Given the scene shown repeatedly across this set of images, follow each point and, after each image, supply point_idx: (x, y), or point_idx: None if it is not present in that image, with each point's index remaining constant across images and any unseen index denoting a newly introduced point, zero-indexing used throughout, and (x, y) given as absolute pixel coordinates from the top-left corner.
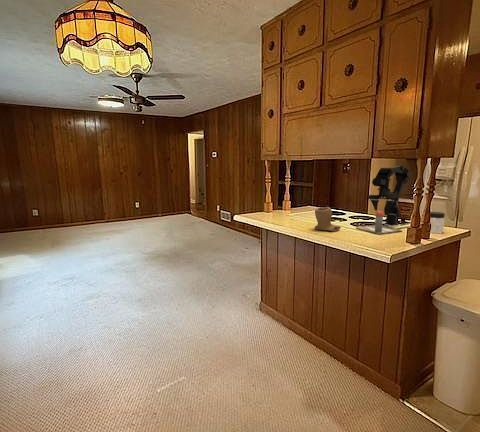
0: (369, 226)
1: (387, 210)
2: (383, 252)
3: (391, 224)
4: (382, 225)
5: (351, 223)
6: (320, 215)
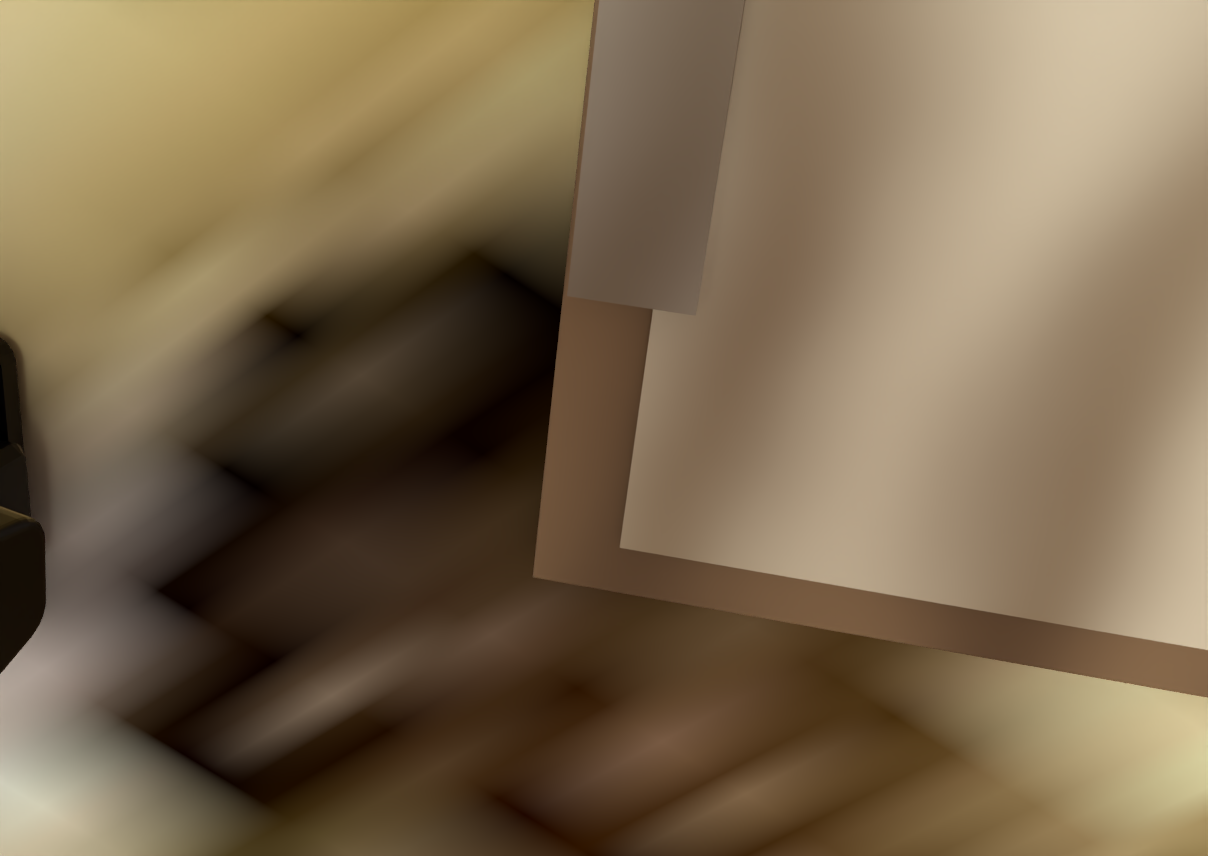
0: (1105, 568)
1: (2, 608)
2: None
3: (3, 367)
4: (687, 294)
5: None
6: None
